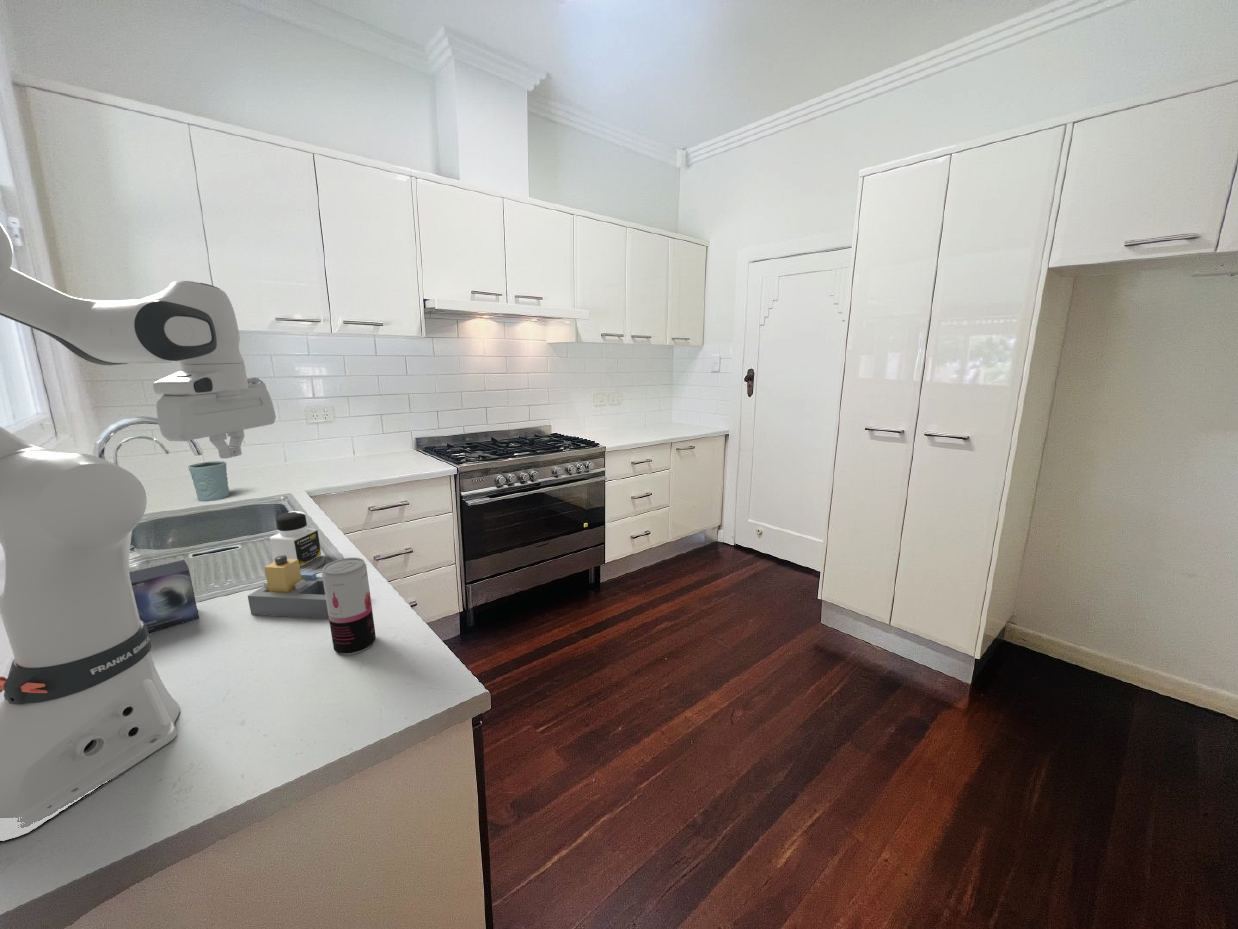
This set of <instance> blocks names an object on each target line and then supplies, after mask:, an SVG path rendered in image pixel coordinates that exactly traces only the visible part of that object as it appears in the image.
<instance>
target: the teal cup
mask: <svg viewBox="0 0 1238 929" xmlns="http://www.w3.org/2000/svg"><path fill="white" fill-rule="evenodd" d="M188 471H189V473H190V476H191V480H192V484H193V486H194V489H195V493H196V496H197V499H198V502H212V501H214V502H215V501H218V500H223V499H226V498H229V497H230V489H229V485H228V484H229V482H228V472H227V471H228V470H227V462H226V461H224V460H221V461H220V460H219V461H217V460H215V461H204V462H197V463H192V464H191V465H189V466H188Z"/></svg>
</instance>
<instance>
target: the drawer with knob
mask: <svg viewBox="0 0 1238 929" xmlns="http://www.w3.org/2000/svg"><path fill="white" fill-rule="evenodd" d="M301 572H302V571H301V566H299V560H298V559H287V556H285V555H282V556H278V557H276V558H275V562H274V561H272V562H271V563H269V564H267V565H266V566H264V573H265V579H266V581H267V584H268V590H269V592H278V593H289V592H290V591H292V590H294V589H295V584H296V583H297V582H299V581H301V580H302V578H301Z"/></svg>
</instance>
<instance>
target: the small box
mask: <svg viewBox="0 0 1238 929" xmlns="http://www.w3.org/2000/svg"><path fill="white" fill-rule="evenodd" d="M129 573H130V580H131V584H132V588H133V592H134V597H135V601H136V605H137V609H138V613H139V617H140V620H142V621H144V622H145V624H146V627H147V630H148V634H149V632H150V633H152V632H155V631H156V630H157V631H159V630H160V631H161V630H163V629H162V628H164V629H166V627H167V628H170V627H173V626H177V625H180V623H181V624H184V623H187V622H186V621H188V622H190V621H189V620H191V621H193V620H192V619H195V620H197V619H199V618H200V617H199V611H198V608H197V601H196V597H195V592H194V586H193V583H192V581H193V580H192V577H191V571H190V569H189V566H188V564H187V562H186V560H185V559H182V560H178V561H176V560H175V561H173V562H168V563H163V564H160V565H156V566H151V567H147V568H146V567H145V568H142V569H138V570H133V571H129ZM183 622H184V623H183ZM169 626H170V627H169Z"/></svg>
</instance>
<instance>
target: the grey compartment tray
mask: <svg viewBox="0 0 1238 929" xmlns="http://www.w3.org/2000/svg"><path fill="white" fill-rule="evenodd" d="M300 572H301V578H302V580H301V581H299V582H297V583H296V584H295V589H294V590H292V591H290V592H289V593H278V592H269V590H268V584H267V580H266V581H264V582H263V585H264V586H262V587H259V588H258V589H257V590H255V591H253V592H252V593H250V594H248V595H247V600H248V605H249V610H250V615H251V614H254V616H269V615H274V616H273V617H286V616H288V618H289V617H290V618H303V619H304V618H306V619H307V618H309V619H324V620H326V619H327V620H329V616H328V609H327V603H326V596H325V590H324V584H323V577H322V576H317V573H316V572H307V571H305V572H304V571H300ZM256 614H257V615H256ZM258 614H259V615H258ZM276 615H277V616H276Z"/></svg>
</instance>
